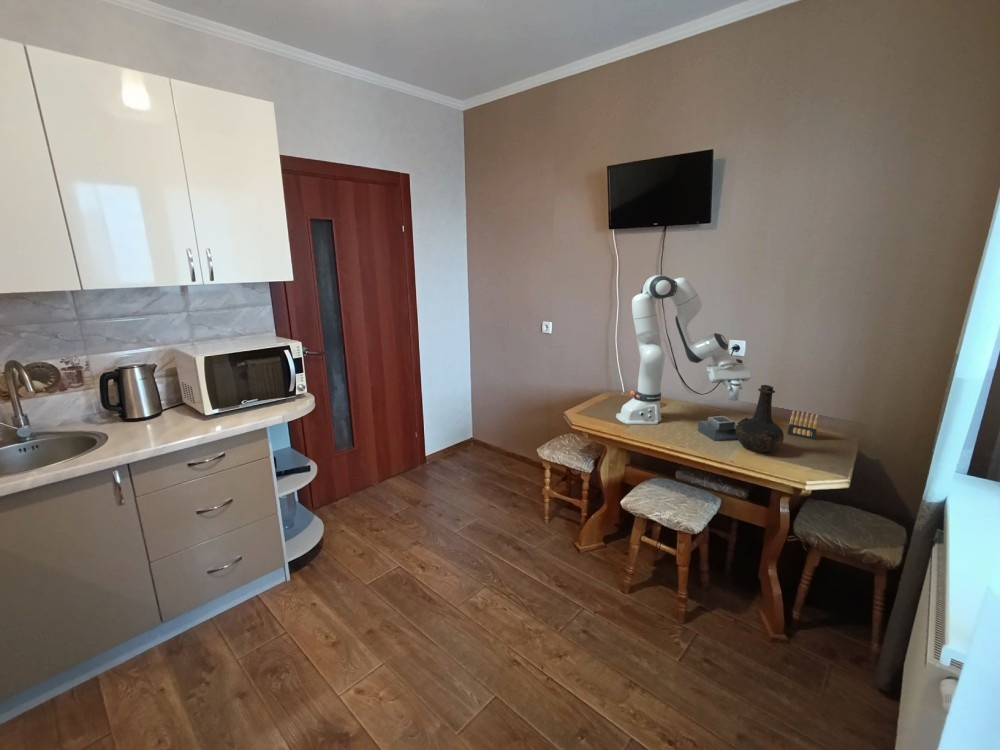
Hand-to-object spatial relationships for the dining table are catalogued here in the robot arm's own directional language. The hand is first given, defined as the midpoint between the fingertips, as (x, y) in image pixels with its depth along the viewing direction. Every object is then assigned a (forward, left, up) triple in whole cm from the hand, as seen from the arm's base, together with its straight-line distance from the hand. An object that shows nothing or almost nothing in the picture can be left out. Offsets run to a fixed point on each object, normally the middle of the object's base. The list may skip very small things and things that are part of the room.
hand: (735, 389), depth 207 cm
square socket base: (-12, -8, -19) cm, 24 cm away
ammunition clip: (+23, -17, -19) cm, 35 cm away
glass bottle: (-6, -25, -19) cm, 32 cm away
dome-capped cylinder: (0, +1, -5) cm, 5 cm away
